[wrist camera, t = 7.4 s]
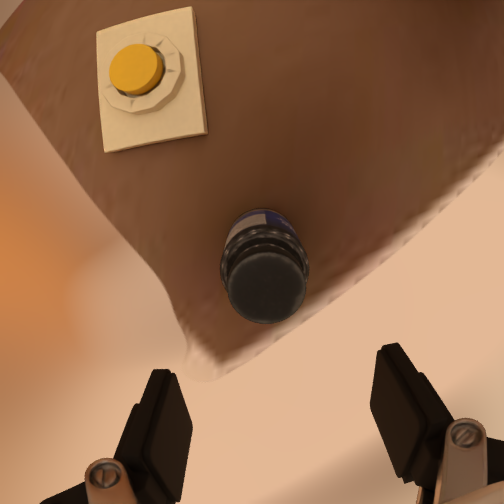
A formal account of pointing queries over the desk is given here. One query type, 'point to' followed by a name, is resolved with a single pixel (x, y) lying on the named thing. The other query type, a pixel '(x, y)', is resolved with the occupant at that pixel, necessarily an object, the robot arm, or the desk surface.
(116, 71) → the button
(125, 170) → the desk surface
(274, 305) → the pill bottle
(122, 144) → the box
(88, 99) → the desk surface
